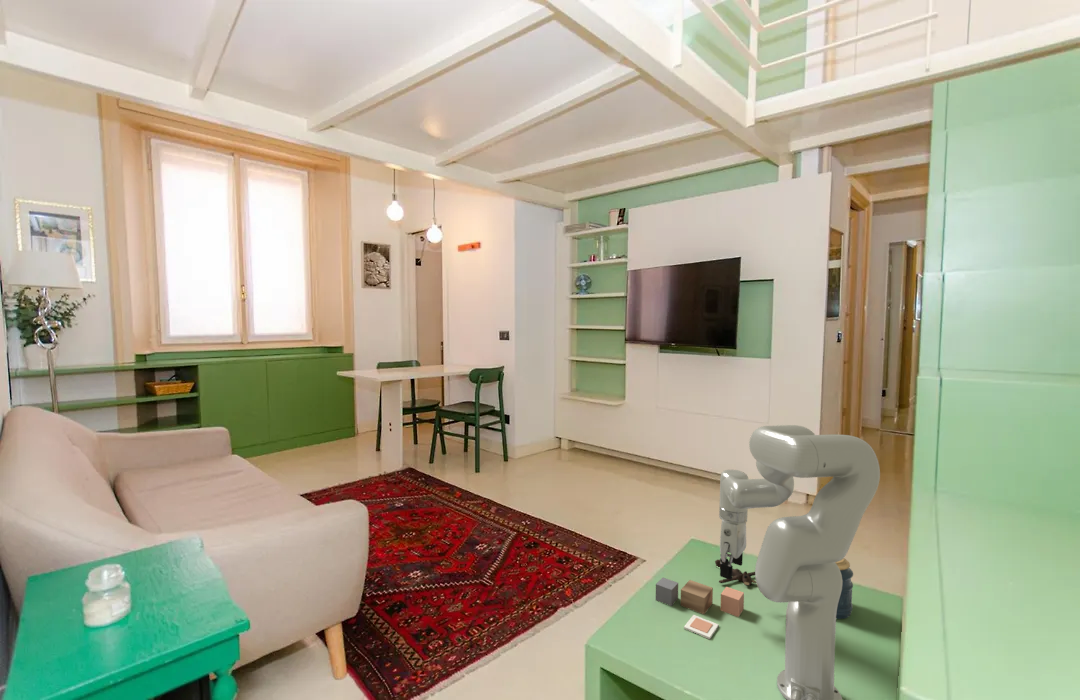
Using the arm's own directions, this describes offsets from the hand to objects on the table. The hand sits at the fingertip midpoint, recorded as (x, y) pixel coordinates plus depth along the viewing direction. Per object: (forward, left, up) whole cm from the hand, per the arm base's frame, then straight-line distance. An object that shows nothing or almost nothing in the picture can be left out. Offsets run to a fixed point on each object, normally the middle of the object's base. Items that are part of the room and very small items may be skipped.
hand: (731, 570), depth 135 cm
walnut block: (-5, +8, -11) cm, 15 cm away
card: (-15, +3, -11) cm, 19 cm away
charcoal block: (-8, +16, -11) cm, 21 cm away
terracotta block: (-1, -1, -11) cm, 11 cm away
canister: (+18, -22, -11) cm, 31 cm away
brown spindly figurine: (+20, +5, -12) cm, 23 cm away
